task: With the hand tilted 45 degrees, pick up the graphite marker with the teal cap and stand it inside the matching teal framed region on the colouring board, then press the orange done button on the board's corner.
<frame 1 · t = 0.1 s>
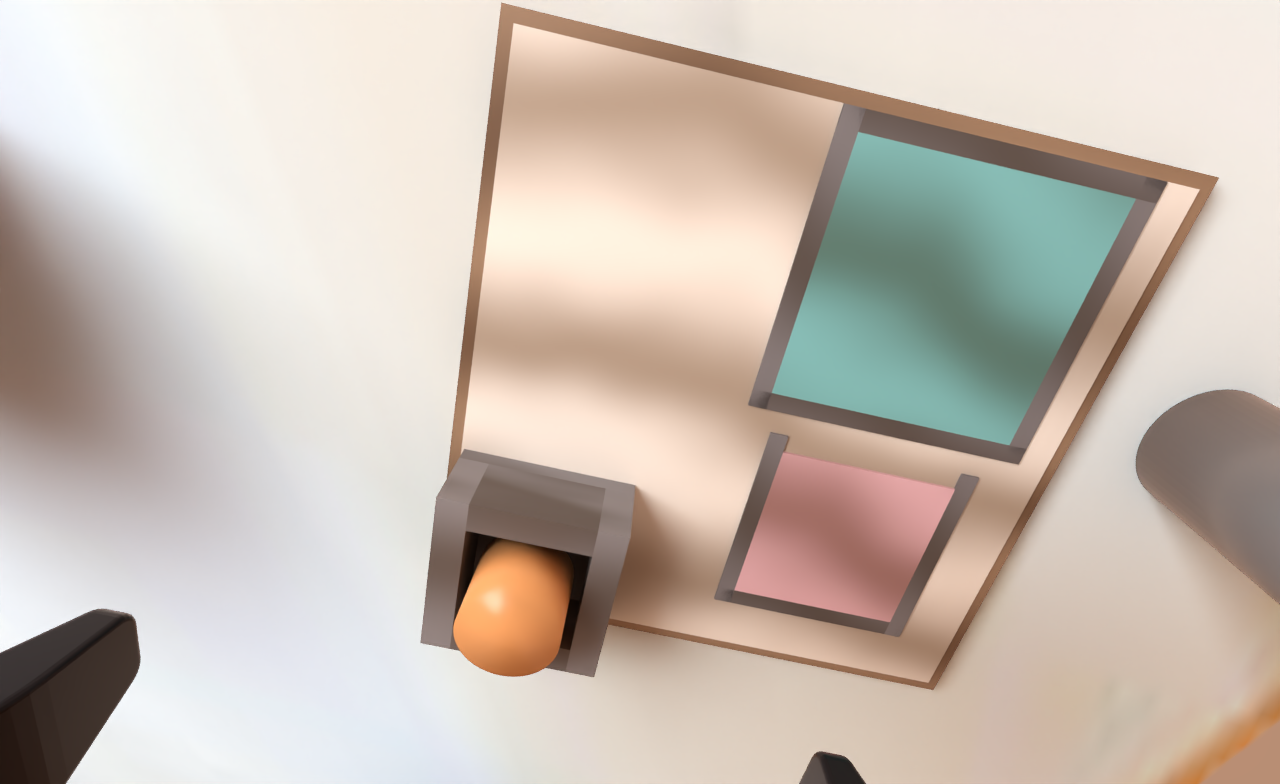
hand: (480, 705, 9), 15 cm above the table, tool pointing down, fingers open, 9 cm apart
done button: (517, 601, 21), point 4 cm above the table, slide at 0.0 cm
colouring board: (759, 406, 23), on the table
teal marker: (1205, 448, 23), on the table
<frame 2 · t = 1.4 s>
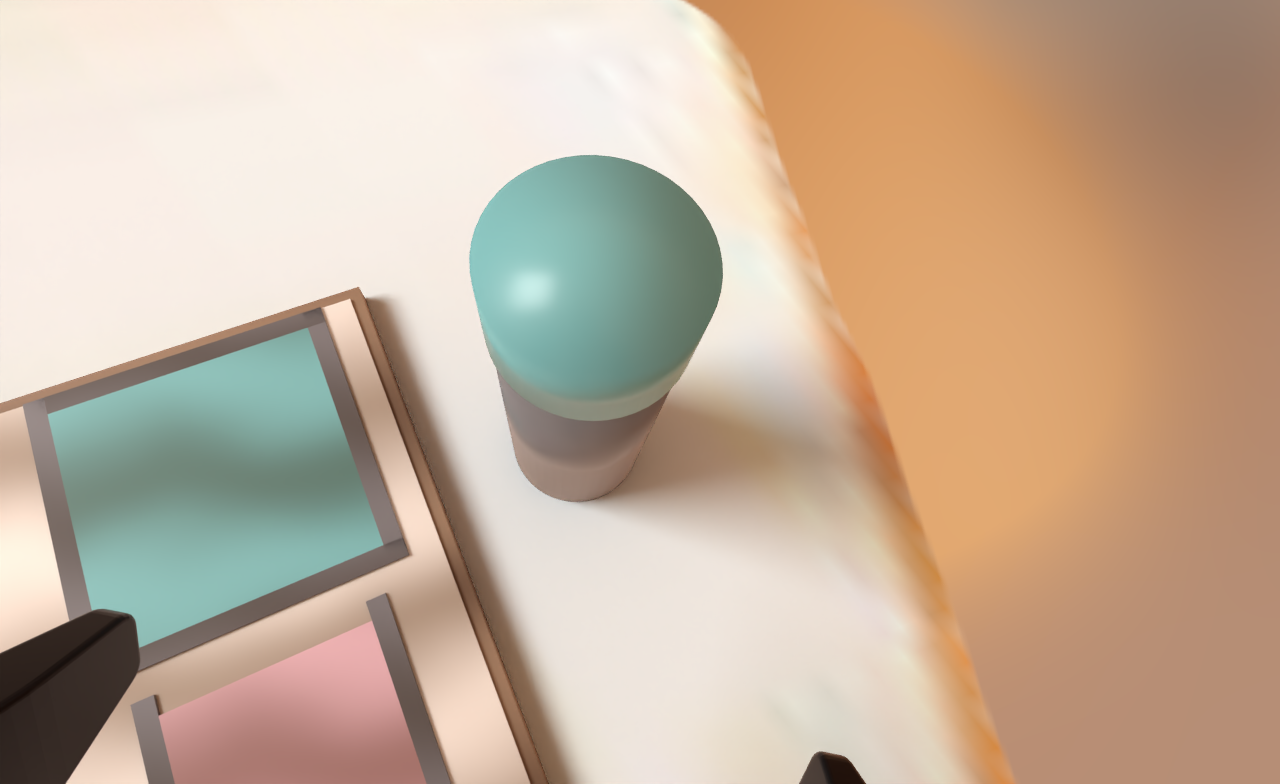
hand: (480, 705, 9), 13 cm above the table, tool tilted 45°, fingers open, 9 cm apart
colouring board: (132, 694, 20), on the table
teal marker: (576, 439, 24), on the table
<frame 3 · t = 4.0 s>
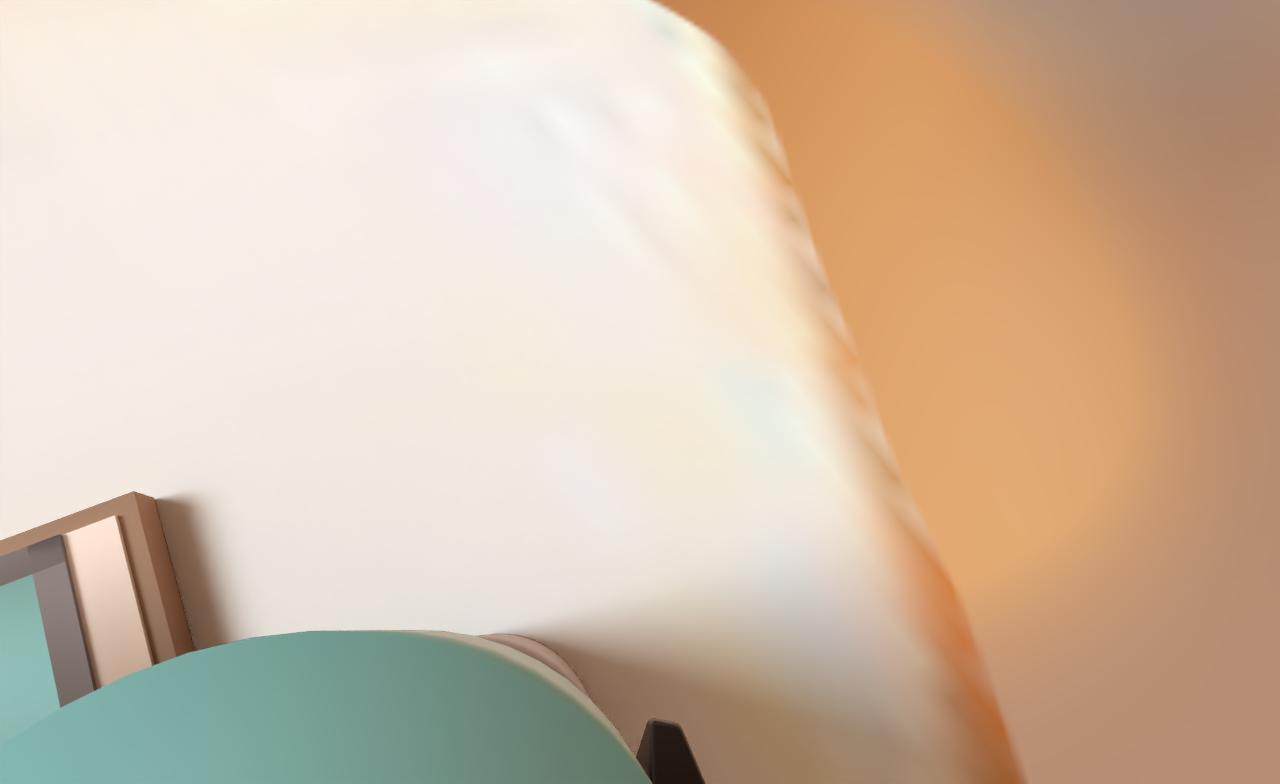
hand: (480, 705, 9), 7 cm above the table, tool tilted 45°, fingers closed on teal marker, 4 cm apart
teal marker: (493, 742, 15), on the table, touching gripper
when the fingers open (9 cm above the table, at t = 8.1 s): teal marker stays where it is, resting on colouring board.
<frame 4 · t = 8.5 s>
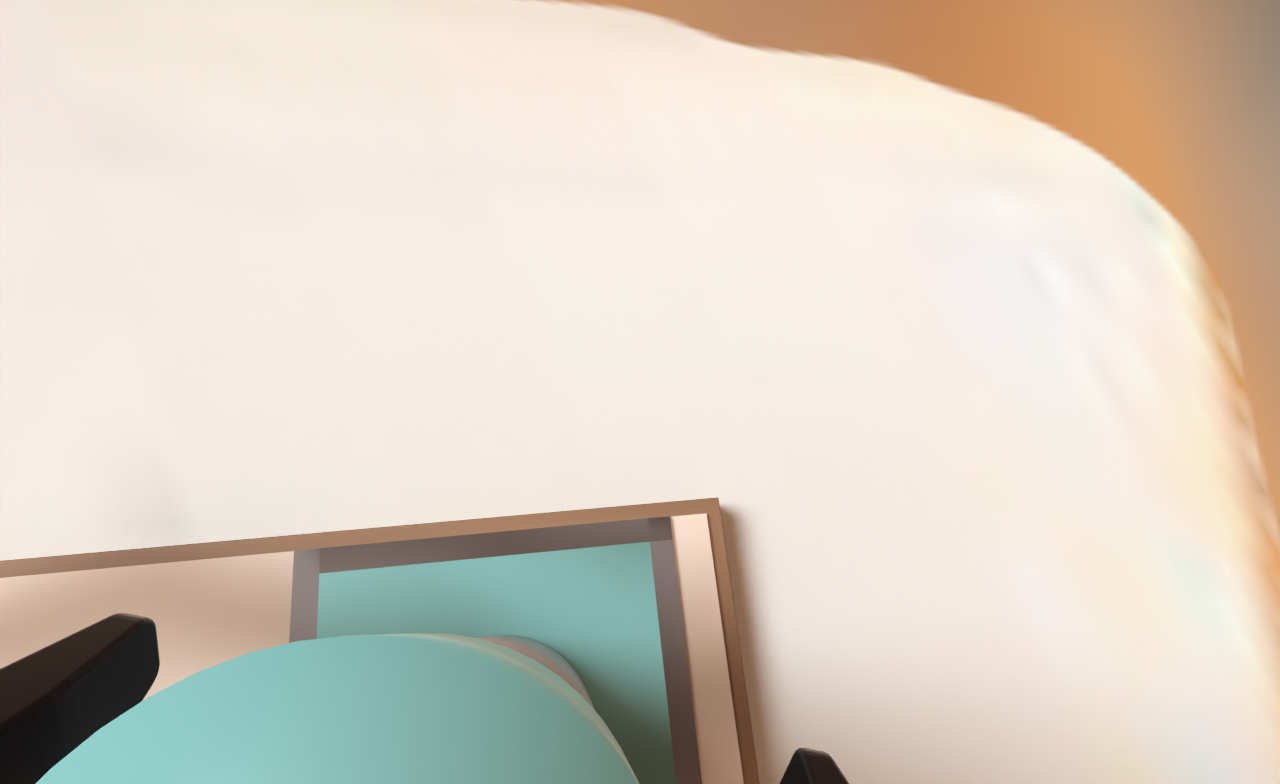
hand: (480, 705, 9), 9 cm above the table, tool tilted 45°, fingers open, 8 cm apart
teal marker: (498, 737, 15), point 1 cm above the table, touching colouring board
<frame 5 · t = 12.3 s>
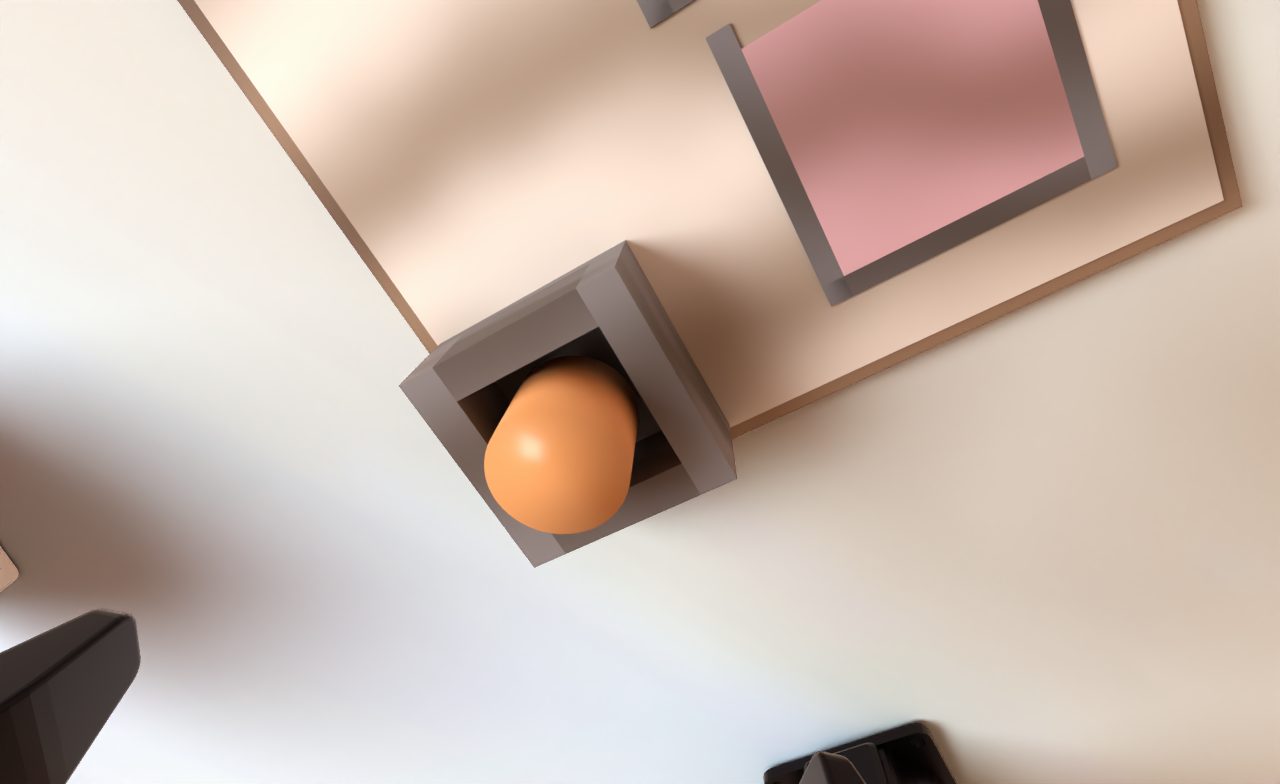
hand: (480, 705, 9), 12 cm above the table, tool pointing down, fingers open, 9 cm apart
done button: (567, 440, 16), point 4 cm above the table, slide at 0.0 cm
colouring board: (681, 34, 16), on the table
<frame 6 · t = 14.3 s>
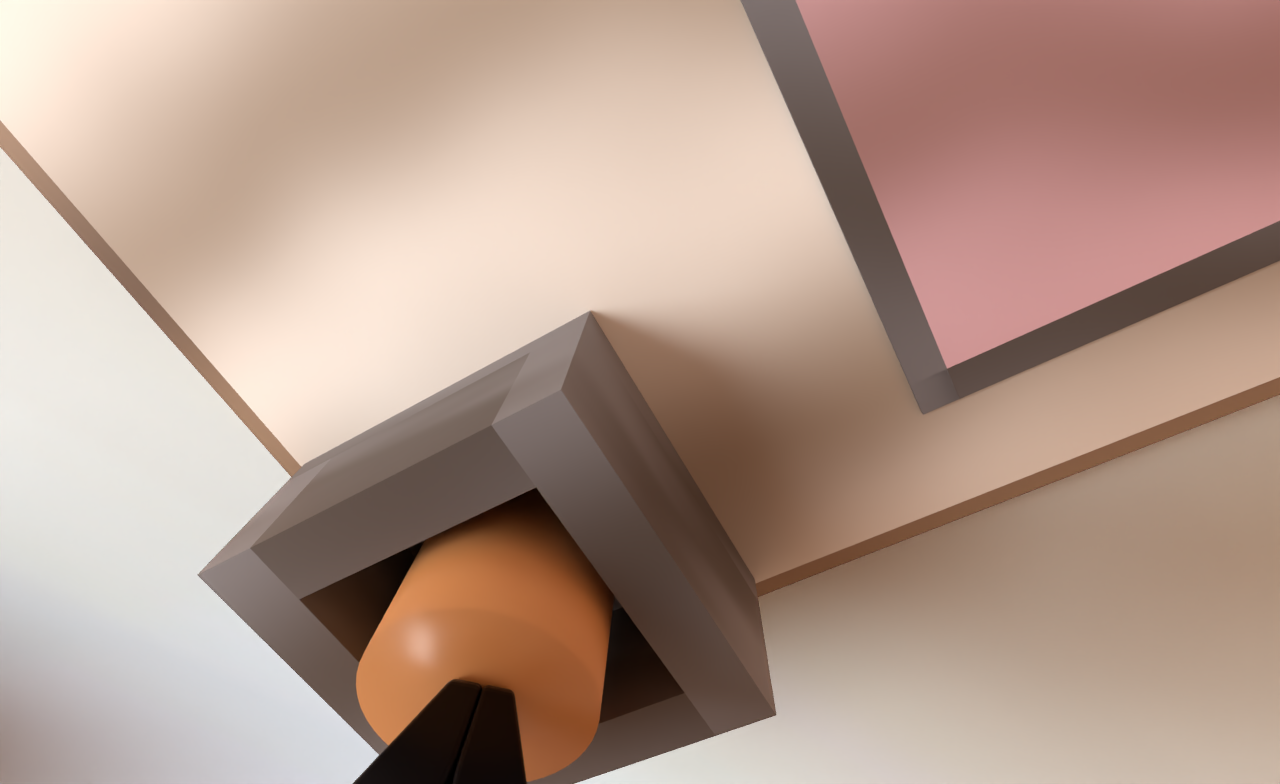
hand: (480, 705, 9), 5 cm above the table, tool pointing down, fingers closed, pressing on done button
done button: (504, 619, 10), point 3 cm above the table, slide at 0.9 cm, touching gripper
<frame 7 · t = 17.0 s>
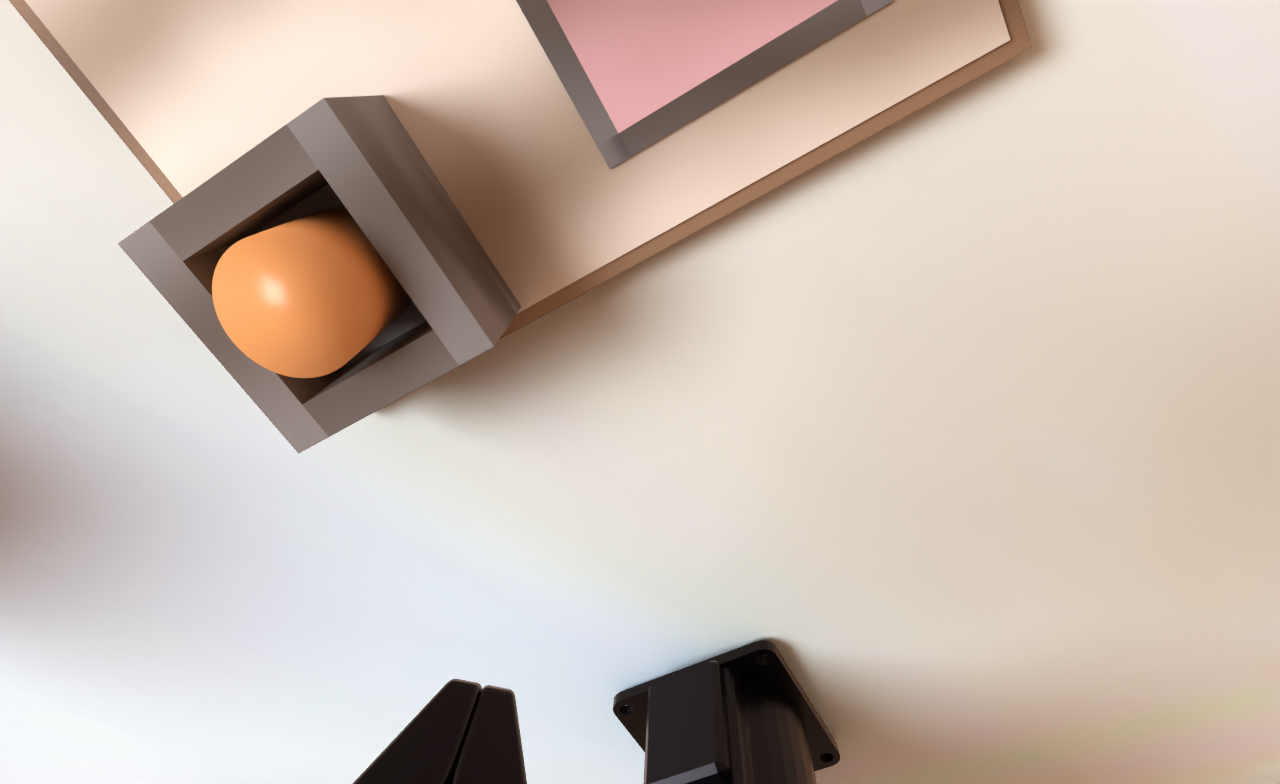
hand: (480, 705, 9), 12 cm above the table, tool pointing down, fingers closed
done button: (321, 289, 16), point 3 cm above the table, slide at 1.0 cm
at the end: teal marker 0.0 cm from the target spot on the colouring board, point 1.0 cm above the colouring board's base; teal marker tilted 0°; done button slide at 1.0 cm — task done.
